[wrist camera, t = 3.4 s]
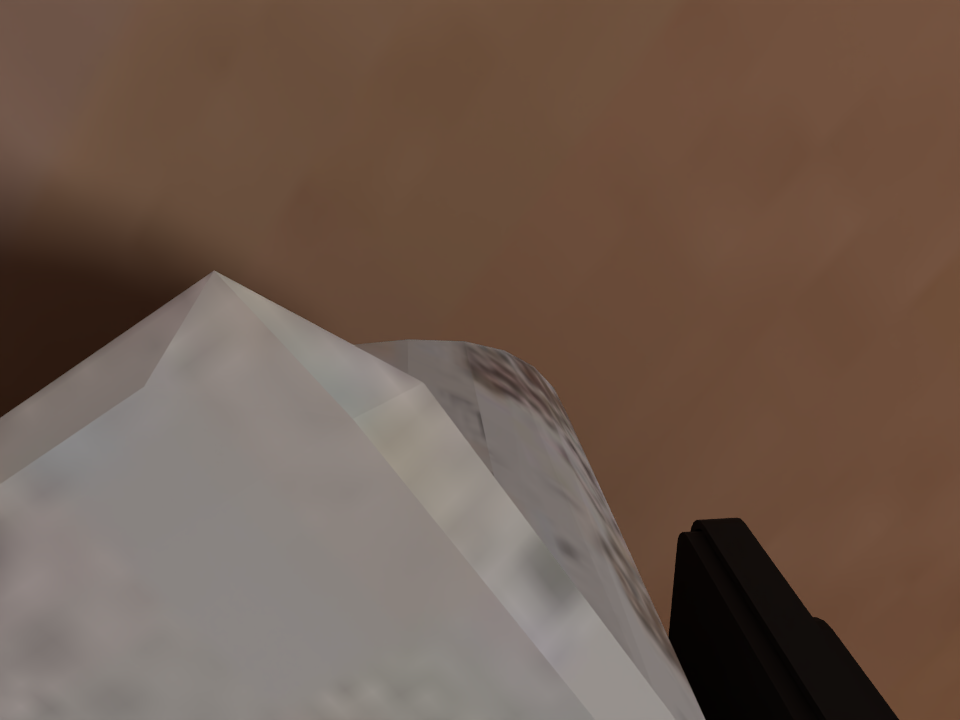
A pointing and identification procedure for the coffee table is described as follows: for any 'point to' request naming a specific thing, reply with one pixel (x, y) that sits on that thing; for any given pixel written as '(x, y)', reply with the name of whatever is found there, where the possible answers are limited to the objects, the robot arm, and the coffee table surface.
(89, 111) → the coffee table surface
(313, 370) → the caster wheel
